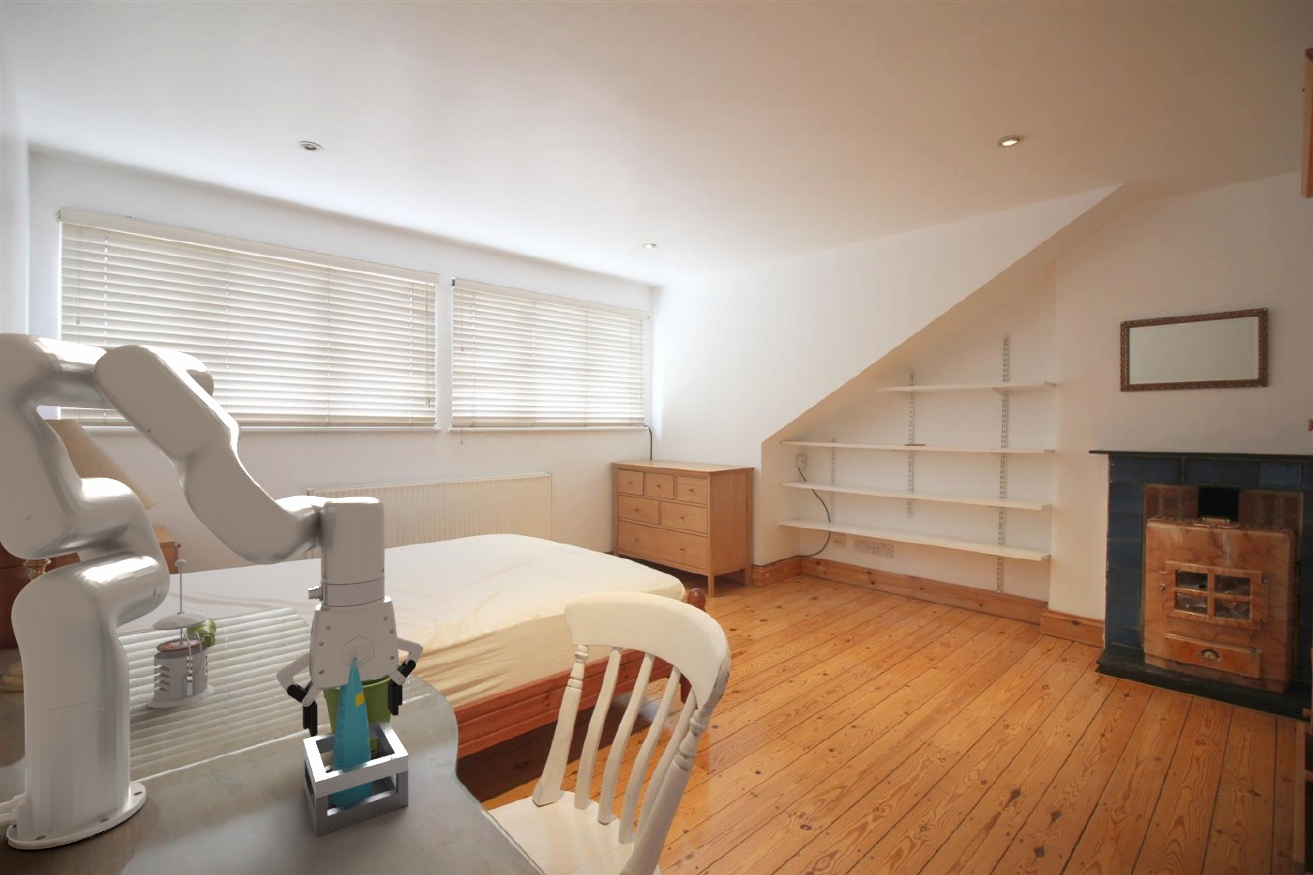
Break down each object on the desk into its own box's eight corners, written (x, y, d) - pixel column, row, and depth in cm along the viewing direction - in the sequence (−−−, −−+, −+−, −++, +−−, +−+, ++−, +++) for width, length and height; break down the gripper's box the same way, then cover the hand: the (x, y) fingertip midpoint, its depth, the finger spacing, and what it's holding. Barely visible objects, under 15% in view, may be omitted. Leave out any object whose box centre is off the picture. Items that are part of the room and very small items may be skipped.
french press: (202, 681, 119) (201, 552, 119) (228, 695, 112) (227, 558, 112) (138, 699, 111) (137, 560, 111) (162, 715, 104) (161, 568, 104)
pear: (214, 612, 146) (219, 628, 139) (214, 633, 147) (219, 650, 139) (185, 616, 143) (188, 634, 135) (184, 638, 143) (188, 656, 136)
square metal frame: (316, 836, 73) (316, 781, 73) (303, 787, 83) (303, 739, 83) (408, 805, 79) (408, 754, 79) (386, 763, 89) (386, 718, 89)
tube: (380, 802, 79) (378, 654, 79) (338, 817, 76) (336, 663, 76) (364, 777, 85) (362, 639, 85) (325, 791, 82) (323, 647, 82)
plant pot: (308, 771, 87) (307, 691, 87) (328, 732, 98) (328, 661, 98) (398, 759, 90) (397, 682, 90) (408, 722, 101) (407, 654, 101)
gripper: (278, 609, 73) (279, 754, 73) (429, 587, 83) (430, 714, 83) (273, 596, 79) (274, 729, 79) (414, 577, 89) (415, 695, 89)
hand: (354, 721), depth 81 cm, fingers open, 9 cm apart
